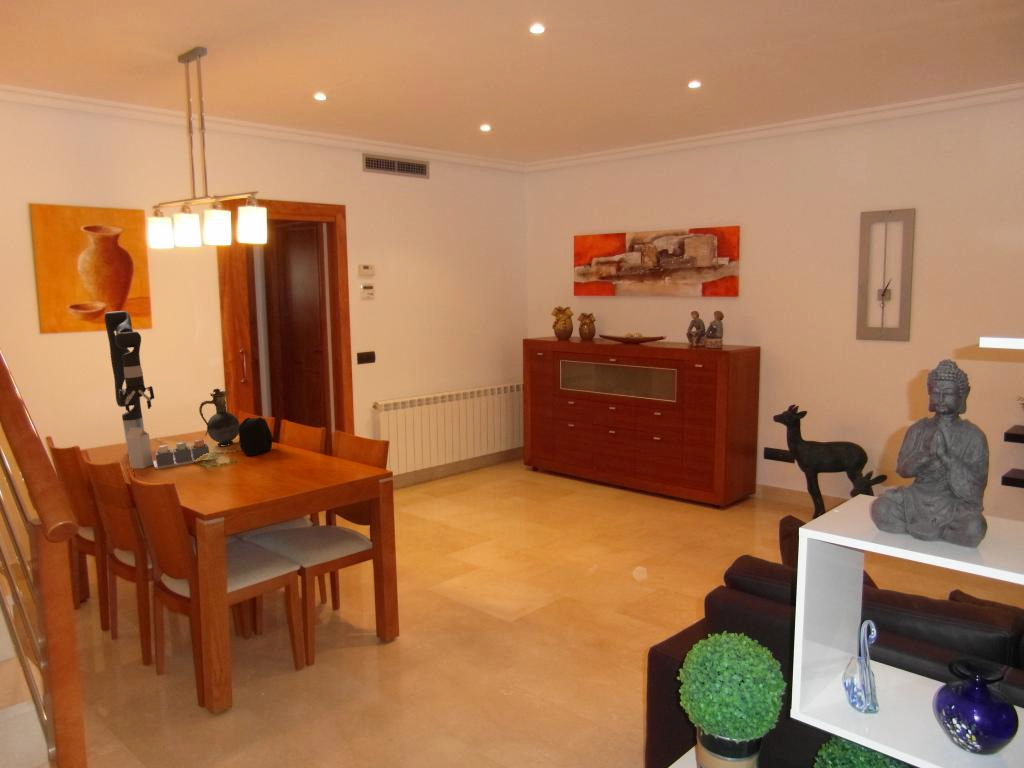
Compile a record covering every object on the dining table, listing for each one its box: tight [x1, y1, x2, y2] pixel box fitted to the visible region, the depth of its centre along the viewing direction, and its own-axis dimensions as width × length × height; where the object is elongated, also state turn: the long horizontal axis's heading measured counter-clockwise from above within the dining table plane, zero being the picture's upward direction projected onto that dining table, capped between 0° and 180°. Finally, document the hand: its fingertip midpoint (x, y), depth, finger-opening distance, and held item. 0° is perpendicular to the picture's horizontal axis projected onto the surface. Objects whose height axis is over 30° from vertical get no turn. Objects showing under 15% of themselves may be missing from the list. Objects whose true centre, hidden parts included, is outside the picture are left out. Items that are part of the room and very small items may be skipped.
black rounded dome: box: [237, 416, 275, 456], centre depth 377 cm, size 18×18×17 cm
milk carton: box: [125, 428, 154, 469], centre depth 363 cm, size 7×7×19 cm
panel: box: [152, 443, 210, 470], centre depth 370 cm, size 14×26×6 cm, turn 119°
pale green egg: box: [175, 442, 188, 451], centre depth 369 cm, size 4×4×5 cm
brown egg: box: [193, 439, 205, 448], centre depth 373 cm, size 4×4×5 cm
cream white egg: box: [157, 444, 170, 454], centre depth 365 cm, size 4×4×5 cm
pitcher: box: [198, 388, 241, 447], centre depth 395 cm, size 11×19×30 cm, turn 136°
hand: (138, 410), depth 354 cm, fingers open, 8 cm apart
